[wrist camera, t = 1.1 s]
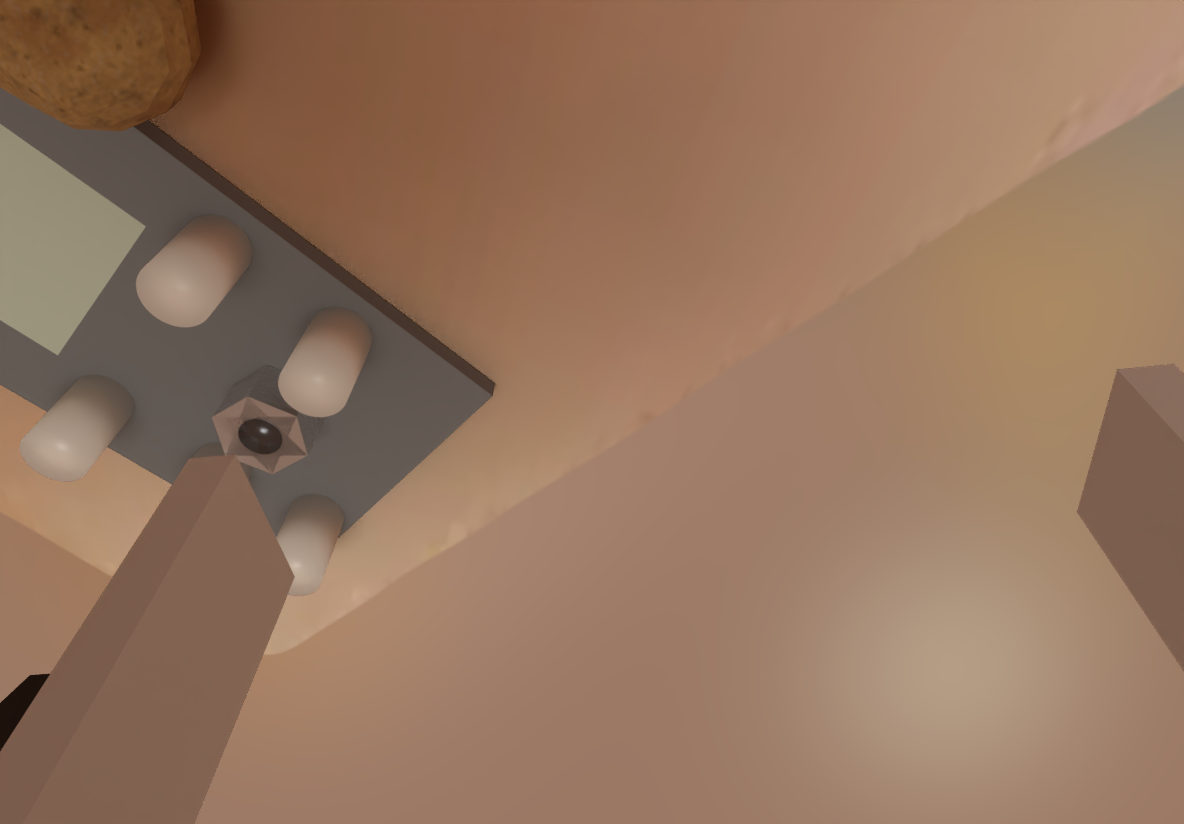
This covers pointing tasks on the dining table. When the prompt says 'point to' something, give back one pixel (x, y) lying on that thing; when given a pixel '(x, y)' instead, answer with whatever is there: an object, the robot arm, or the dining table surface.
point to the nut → (263, 423)
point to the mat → (213, 348)
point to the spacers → (307, 383)
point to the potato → (98, 58)
